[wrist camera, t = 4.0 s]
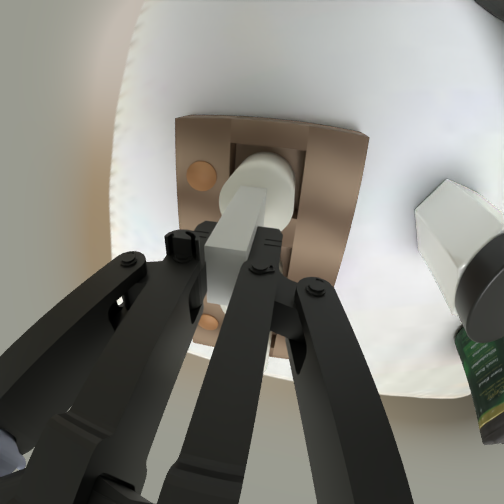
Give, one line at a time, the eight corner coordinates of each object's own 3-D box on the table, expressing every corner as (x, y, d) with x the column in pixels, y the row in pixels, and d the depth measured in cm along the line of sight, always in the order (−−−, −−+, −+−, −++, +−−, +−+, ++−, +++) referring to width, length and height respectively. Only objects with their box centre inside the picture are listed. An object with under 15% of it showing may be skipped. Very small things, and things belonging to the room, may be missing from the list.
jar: (434, 271, 24) (476, 360, 14) (396, 223, 22) (446, 316, 12) (490, 220, 20) (553, 291, 10) (459, 161, 18) (544, 221, 8)
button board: (190, 114, 20) (174, 118, 18) (360, 132, 19) (370, 137, 16) (200, 325, 34) (192, 343, 31) (308, 342, 32) (307, 362, 30)
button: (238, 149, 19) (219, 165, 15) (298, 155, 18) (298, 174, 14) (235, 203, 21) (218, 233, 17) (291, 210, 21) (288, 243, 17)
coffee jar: (445, 336, 29) (477, 455, 13) (487, 300, 25) (537, 417, 9) (466, 355, 31) (492, 453, 15) (502, 326, 26) (539, 423, 11)
